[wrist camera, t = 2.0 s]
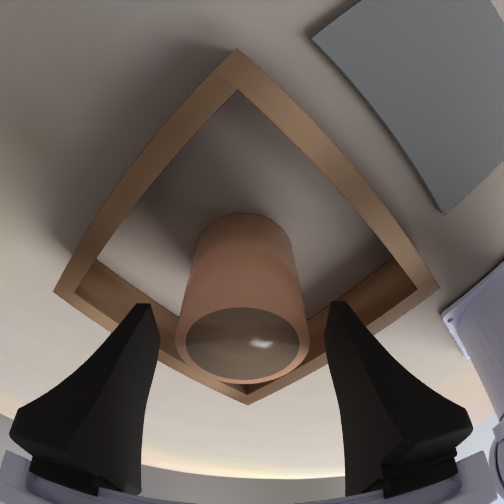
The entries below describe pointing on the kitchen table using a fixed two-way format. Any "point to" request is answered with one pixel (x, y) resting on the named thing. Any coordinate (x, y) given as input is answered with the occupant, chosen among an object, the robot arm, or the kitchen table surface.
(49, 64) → the kitchen table surface
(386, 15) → the slate mat
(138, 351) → the robot arm
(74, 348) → the kitchen table surface
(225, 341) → the terracotta pot
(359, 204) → the wooden square frame
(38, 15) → the kitchen table surface
